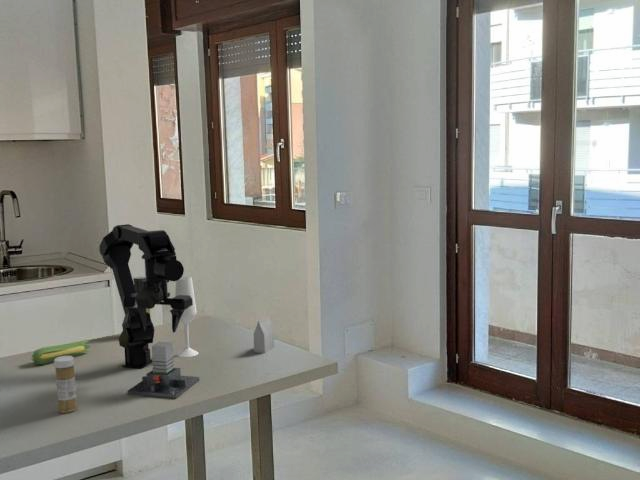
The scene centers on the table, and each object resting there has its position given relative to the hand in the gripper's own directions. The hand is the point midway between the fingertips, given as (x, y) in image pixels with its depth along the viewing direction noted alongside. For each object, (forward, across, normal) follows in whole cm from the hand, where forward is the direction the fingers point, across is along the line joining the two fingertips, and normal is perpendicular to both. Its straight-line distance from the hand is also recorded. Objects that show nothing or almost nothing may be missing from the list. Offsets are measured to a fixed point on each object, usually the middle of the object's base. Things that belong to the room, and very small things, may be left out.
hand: (159, 331), depth 198 cm
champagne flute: (+13, -2, +21) cm, 25 cm away
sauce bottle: (+13, -27, +38) cm, 48 cm away
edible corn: (+14, -38, +9) cm, 41 cm away
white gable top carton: (+13, +20, +30) cm, 38 cm away
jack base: (+13, +5, -8) cm, 16 cm away
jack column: (+9, +5, -8) cm, 13 cm away
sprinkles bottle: (+13, -11, -28) cm, 33 cm away
